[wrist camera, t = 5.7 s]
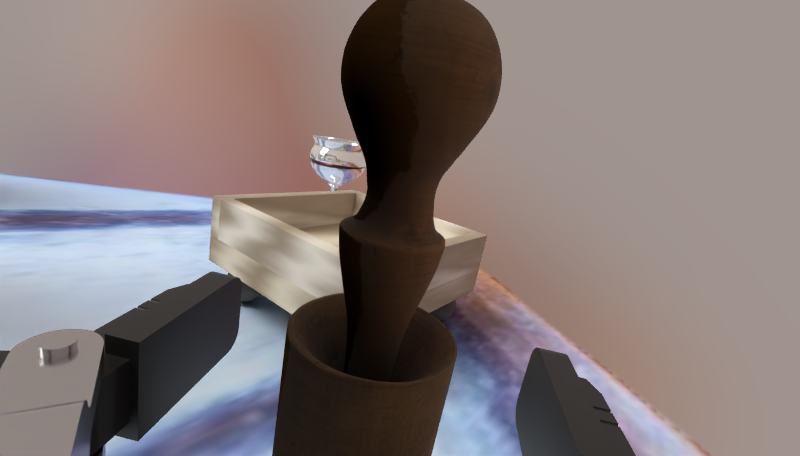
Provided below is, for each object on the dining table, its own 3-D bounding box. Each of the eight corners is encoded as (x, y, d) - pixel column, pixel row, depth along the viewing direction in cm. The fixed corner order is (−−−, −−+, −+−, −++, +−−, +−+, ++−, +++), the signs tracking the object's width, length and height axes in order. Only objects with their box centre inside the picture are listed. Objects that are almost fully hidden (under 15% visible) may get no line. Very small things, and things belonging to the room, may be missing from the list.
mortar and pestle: (377, 523, 16) (480, 53, 12) (464, 753, 11) (730, 25, 6) (193, 579, 13) (231, -22, 9) (181, 936, 8) (273, -210, 3)
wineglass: (364, 244, 50) (380, 148, 47) (313, 246, 46) (327, 141, 43) (339, 227, 55) (352, 140, 52) (292, 227, 51) (303, 133, 48)
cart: (207, 295, 31) (213, 195, 29) (344, 262, 43) (355, 190, 41) (341, 398, 23) (363, 269, 21) (465, 322, 35) (487, 235, 33)
